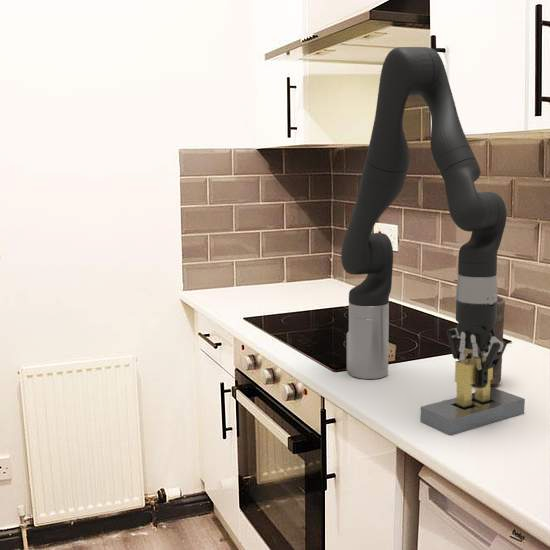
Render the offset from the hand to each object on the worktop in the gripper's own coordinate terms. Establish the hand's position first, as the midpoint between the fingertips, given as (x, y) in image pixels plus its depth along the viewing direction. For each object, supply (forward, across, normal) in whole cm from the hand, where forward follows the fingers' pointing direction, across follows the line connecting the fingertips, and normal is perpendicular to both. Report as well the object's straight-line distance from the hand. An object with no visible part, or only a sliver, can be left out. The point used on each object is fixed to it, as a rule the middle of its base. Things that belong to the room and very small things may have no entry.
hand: (473, 384), depth 136 cm
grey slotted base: (+7, 0, 0) cm, 7 cm away
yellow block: (+4, 0, 0) cm, 4 cm away
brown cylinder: (+7, -13, +17) cm, 23 cm away
